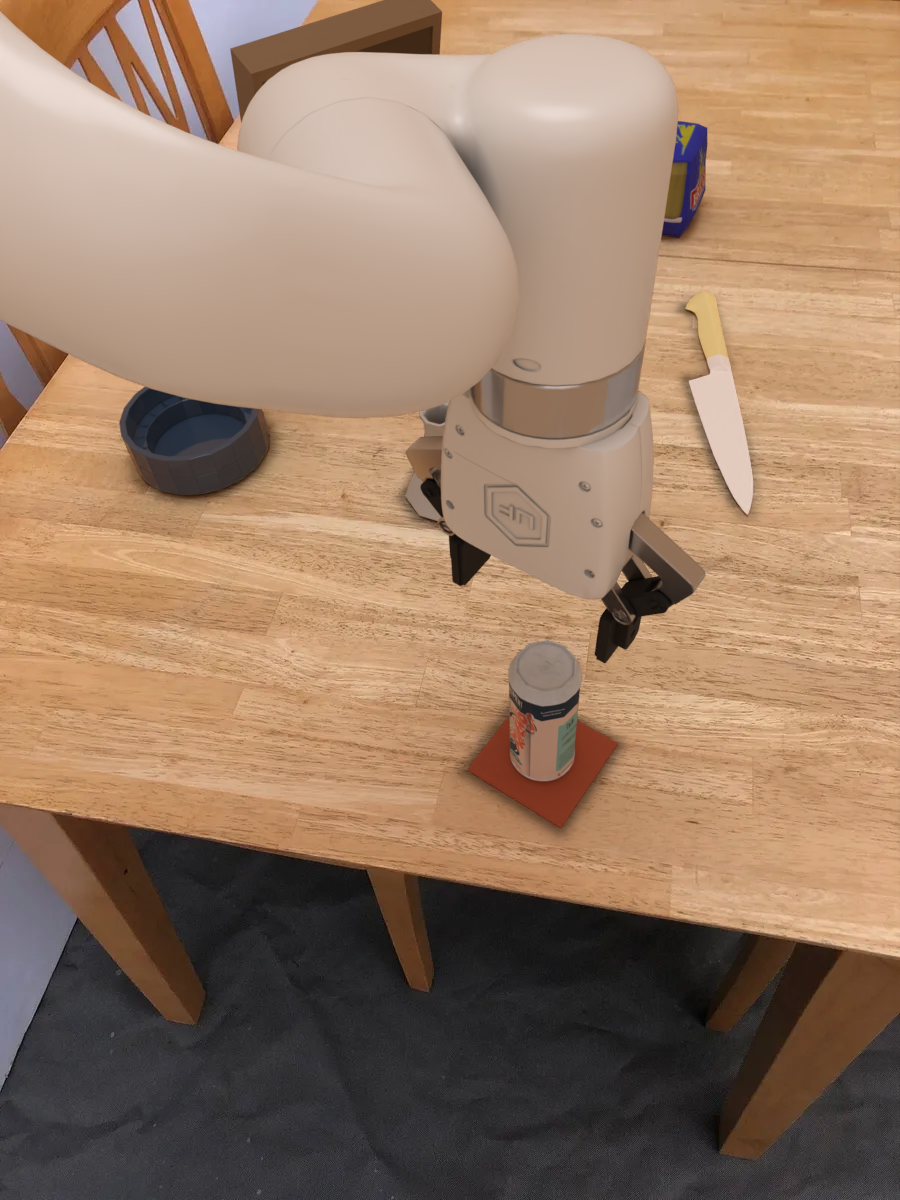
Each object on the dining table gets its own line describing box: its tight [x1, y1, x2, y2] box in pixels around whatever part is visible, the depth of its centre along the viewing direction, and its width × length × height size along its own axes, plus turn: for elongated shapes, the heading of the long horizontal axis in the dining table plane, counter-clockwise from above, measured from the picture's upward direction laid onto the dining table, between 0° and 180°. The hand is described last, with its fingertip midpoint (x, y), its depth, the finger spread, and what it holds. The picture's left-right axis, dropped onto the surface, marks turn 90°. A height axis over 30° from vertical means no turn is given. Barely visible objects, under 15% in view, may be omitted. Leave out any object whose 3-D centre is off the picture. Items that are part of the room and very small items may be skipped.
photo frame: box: [229, 0, 443, 124], centre depth 102 cm, size 15×22×25 cm
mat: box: [467, 714, 618, 829], centre depth 68 cm, size 8×8×1 cm
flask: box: [404, 401, 449, 522], centre depth 82 cm, size 7×7×10 cm
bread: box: [662, 120, 708, 238], centre depth 110 cm, size 10×25×10 cm, turn 68°
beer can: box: [507, 639, 583, 781], centre depth 64 cm, size 5×5×12 cm
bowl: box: [118, 386, 271, 496], centre depth 90 cm, size 13×13×5 cm
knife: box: [684, 290, 754, 516], centre depth 92 cm, size 1×33×4 cm
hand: (540, 605), depth 54 cm, fingers open, 9 cm apart
